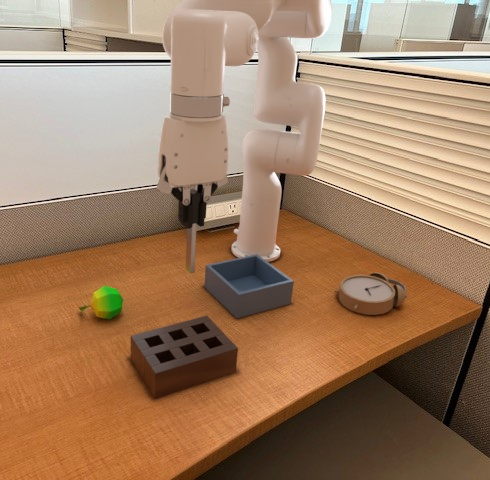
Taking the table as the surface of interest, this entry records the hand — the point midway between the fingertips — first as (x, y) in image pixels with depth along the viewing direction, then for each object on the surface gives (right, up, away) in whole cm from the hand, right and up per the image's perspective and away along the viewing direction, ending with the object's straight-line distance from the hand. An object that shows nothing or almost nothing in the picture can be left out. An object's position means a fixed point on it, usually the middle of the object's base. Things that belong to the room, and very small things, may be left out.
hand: (191, 223), depth 76 cm
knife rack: (-2, -24, +6) cm, 25 cm away
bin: (+12, -15, +28) cm, 34 cm away
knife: (0, -8, +4) cm, 9 cm away
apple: (-18, -18, +19) cm, 32 cm away
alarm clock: (+39, -16, +28) cm, 51 cm away
